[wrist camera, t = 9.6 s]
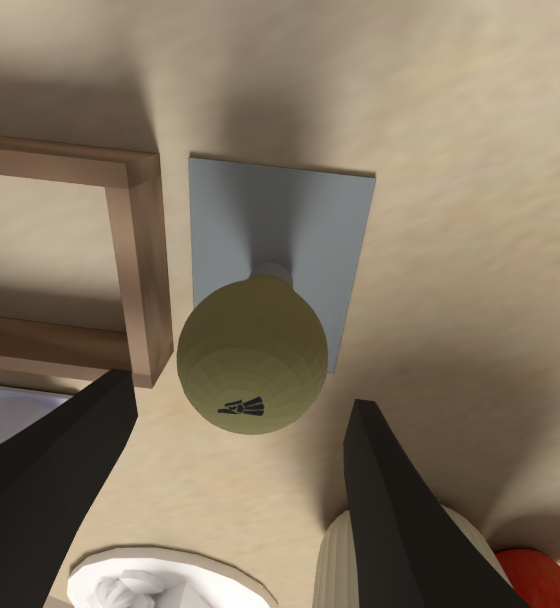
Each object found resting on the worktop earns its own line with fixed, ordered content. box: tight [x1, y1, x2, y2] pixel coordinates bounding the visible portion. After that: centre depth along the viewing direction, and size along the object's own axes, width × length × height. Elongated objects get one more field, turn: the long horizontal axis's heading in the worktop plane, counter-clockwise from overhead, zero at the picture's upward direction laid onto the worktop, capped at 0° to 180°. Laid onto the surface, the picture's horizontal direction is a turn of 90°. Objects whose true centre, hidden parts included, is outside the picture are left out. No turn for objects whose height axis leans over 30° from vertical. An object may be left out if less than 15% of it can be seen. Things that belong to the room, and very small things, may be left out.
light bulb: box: [177, 262, 328, 435], centre depth 15 cm, size 6×6×10 cm
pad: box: [189, 157, 376, 374], centre depth 20 cm, size 12×9×1 cm
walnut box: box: [0, 136, 174, 389], centre depth 19 cm, size 12×16×4 cm
